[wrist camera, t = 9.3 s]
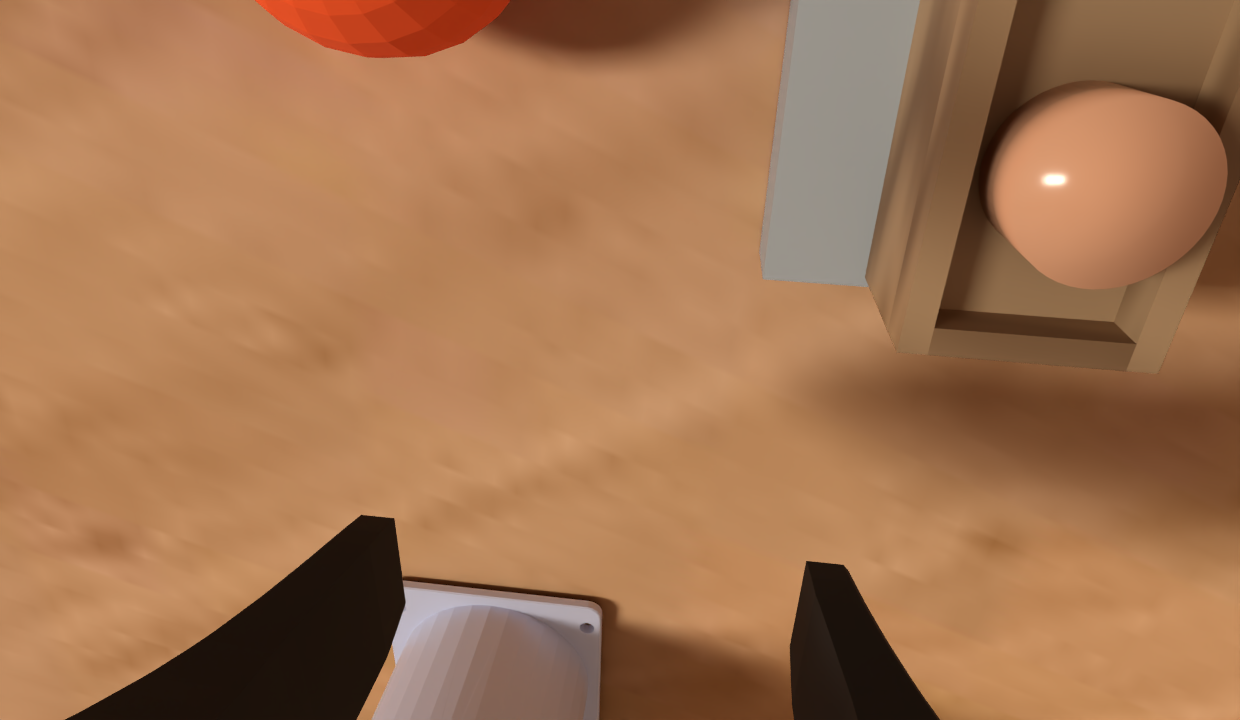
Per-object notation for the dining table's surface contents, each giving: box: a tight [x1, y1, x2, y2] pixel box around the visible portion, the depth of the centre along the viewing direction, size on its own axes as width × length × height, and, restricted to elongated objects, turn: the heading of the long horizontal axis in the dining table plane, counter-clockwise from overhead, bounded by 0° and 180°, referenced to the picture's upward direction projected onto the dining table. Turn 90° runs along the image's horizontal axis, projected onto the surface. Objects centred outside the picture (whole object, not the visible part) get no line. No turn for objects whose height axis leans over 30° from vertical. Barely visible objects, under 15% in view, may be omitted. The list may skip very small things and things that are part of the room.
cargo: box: [979, 80, 1228, 290], centre depth 14 cm, size 3×3×2 cm
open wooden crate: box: [865, 0, 1240, 374], centre depth 15 cm, size 8×5×4 cm, turn 178°
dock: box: [760, 0, 920, 287], centre depth 17 cm, size 9×10×3 cm
